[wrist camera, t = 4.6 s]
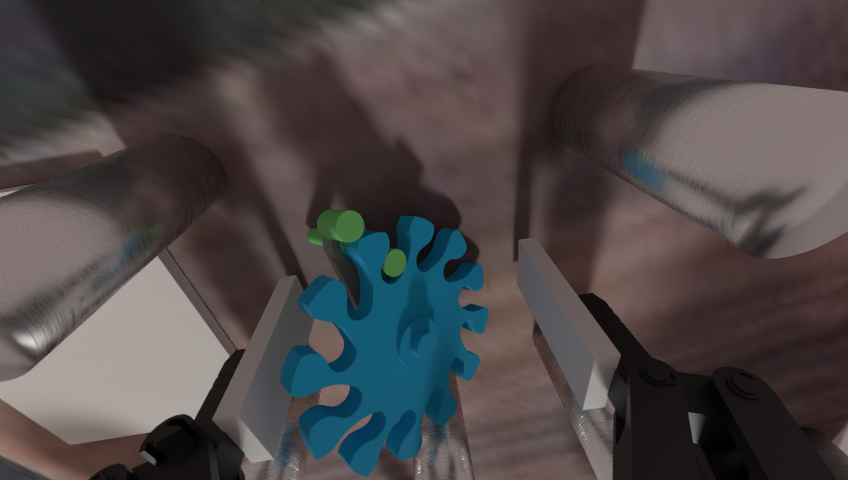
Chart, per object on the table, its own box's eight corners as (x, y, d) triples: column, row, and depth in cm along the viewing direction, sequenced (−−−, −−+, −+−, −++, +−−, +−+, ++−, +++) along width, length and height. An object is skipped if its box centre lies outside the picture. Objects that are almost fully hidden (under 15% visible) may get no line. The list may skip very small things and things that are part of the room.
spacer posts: (634, 59, 12) (975, 82, 5) (574, 365, 21) (659, 517, 14) (121, 141, 12) (-263, 279, 5) (294, 410, 21) (248, 582, 14)
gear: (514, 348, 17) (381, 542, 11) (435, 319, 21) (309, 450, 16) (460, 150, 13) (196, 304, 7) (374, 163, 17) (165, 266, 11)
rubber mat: (112, 171, 12) (100, 177, 12) (274, 404, 21) (270, 413, 20) (-222, 224, 12) (-250, 232, 12) (77, 435, 21) (70, 445, 20)
